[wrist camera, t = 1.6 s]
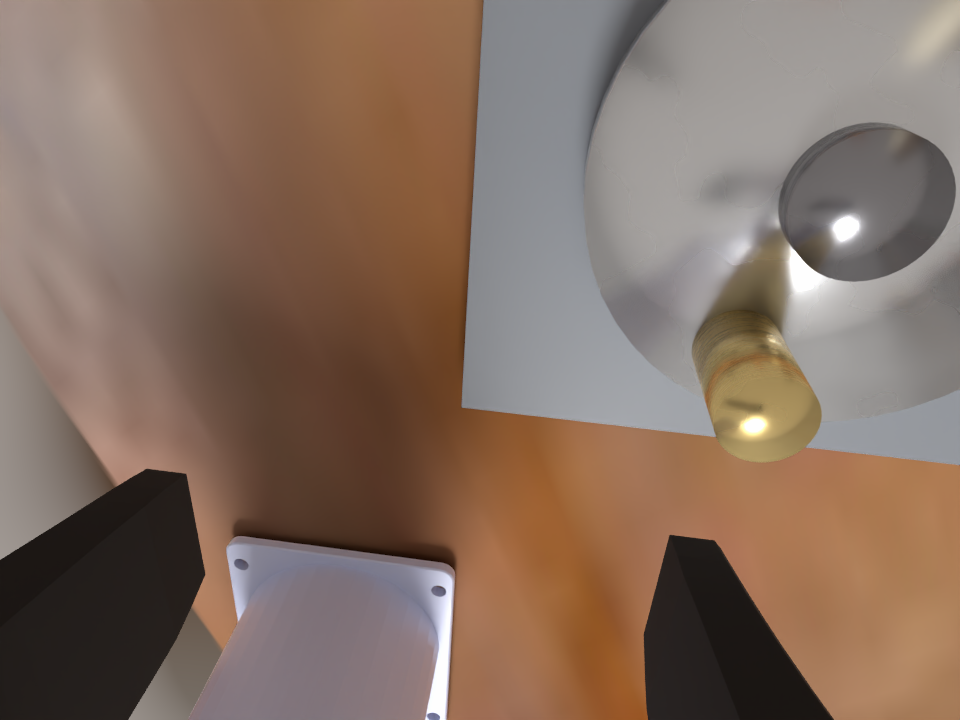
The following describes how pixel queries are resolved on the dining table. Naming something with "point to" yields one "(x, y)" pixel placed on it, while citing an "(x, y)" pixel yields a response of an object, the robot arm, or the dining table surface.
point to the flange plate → (785, 209)
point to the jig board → (585, 247)
